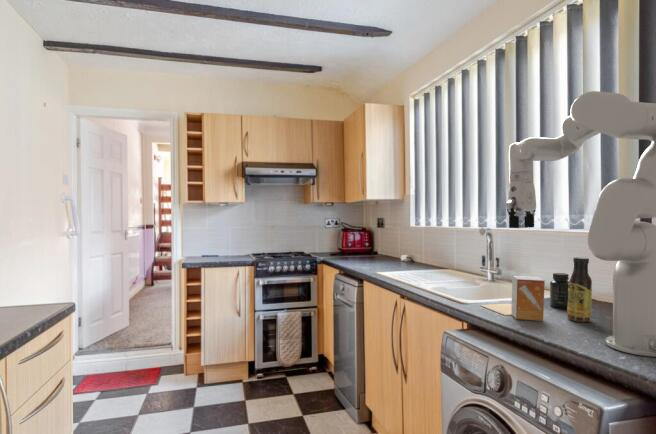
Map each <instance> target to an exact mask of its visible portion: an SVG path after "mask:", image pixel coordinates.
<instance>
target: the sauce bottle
mask: <svg viewBox="0 0 656 434" xmlns="http://www.w3.org/2000/svg"><path fill="white" fill-rule="evenodd" d="M572 261H573V270H572V274H571V276H570V279H569V280H568V281H569V283H568V306H567V309H566V310H567V311H566V313H567V319H569V320H570V321H573V322H577V323H588V322H589V323H590V321H591V317H592V316H591V315H592V296H593V293H592V291H593V288H592V287H593V285H592V284H593V283H592V277H591V276H590V274H589V262H590V258H588V257H584V256H582V257H581V256H574V257H573V259H572Z"/></svg>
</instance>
